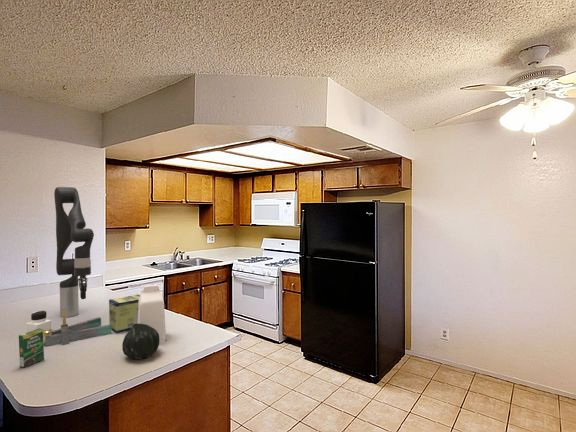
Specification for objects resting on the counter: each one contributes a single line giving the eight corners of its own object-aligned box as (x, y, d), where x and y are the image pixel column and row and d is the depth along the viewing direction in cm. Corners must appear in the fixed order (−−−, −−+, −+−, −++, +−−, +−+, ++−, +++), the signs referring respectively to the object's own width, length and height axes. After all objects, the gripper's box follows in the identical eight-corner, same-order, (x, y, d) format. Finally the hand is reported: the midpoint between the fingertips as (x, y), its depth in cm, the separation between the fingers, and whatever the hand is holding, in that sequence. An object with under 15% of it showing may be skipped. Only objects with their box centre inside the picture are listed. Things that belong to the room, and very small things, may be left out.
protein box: (108, 329, 176) (108, 299, 176) (138, 321, 187) (138, 293, 187) (116, 334, 169) (116, 303, 168) (147, 326, 180) (146, 297, 180)
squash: (170, 335, 152) (147, 311, 151) (158, 351, 137) (133, 324, 136) (147, 356, 152) (124, 332, 151) (133, 374, 138) (107, 347, 137)
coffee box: (23, 368, 133) (22, 335, 132) (18, 367, 134) (18, 334, 133) (44, 359, 140) (44, 328, 140) (40, 358, 141) (39, 327, 141)
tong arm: (49, 339, 160) (49, 331, 160) (98, 324, 181) (98, 317, 181) (51, 340, 159) (51, 332, 159) (101, 325, 180) (100, 317, 180)
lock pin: (62, 328, 164) (61, 309, 164) (66, 327, 165) (66, 308, 165) (62, 329, 163) (61, 310, 162) (66, 328, 164) (66, 309, 163)
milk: (138, 346, 154) (138, 289, 154) (137, 337, 165) (136, 284, 164) (166, 341, 160) (165, 287, 159) (163, 333, 170) (162, 282, 169)
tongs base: (41, 340, 160) (40, 328, 160) (108, 328, 177) (108, 316, 177) (40, 349, 151) (40, 335, 150) (112, 335, 167) (112, 322, 167)
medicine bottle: (51, 334, 169) (51, 310, 168) (36, 339, 162) (36, 314, 162) (41, 332, 171) (41, 308, 171) (26, 337, 164) (26, 313, 164)
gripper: (73, 264, 183) (73, 296, 183) (75, 268, 171) (75, 302, 172) (89, 263, 187) (89, 294, 187) (92, 267, 176) (92, 300, 176)
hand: (83, 298), depth 180 cm, fingers open, 3 cm apart
